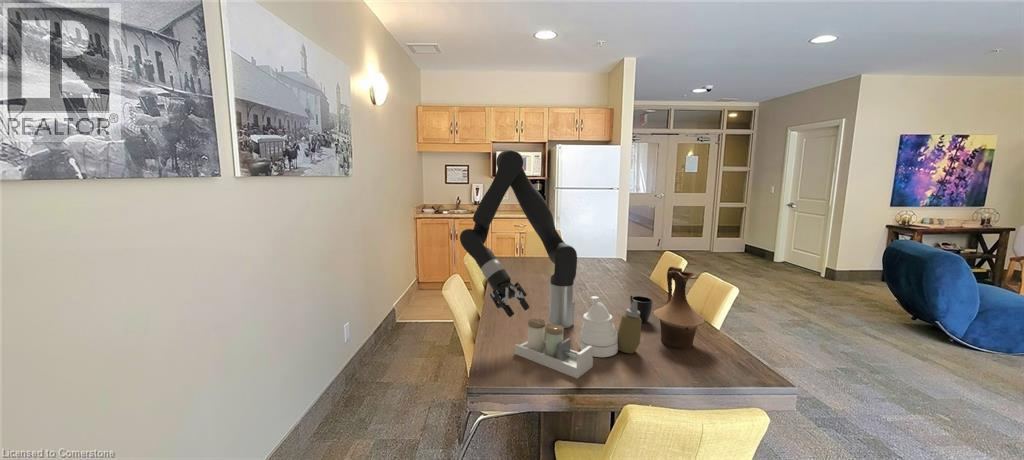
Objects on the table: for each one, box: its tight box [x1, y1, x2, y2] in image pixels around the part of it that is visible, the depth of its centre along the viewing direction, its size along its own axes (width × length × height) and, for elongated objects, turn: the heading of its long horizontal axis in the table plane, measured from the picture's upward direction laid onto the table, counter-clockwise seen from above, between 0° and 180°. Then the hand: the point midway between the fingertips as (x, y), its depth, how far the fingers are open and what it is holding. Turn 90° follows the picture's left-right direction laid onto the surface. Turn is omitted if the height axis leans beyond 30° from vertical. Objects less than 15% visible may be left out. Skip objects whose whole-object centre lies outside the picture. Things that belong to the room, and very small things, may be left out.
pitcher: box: [653, 265, 706, 350], centre depth 138 cm, size 18×17×28 cm
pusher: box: [556, 337, 576, 361], centre depth 120 cm, size 5×7×6 cm
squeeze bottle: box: [616, 300, 643, 354], centre depth 131 cm, size 8×8×18 cm
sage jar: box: [545, 324, 565, 358], centre depth 124 cm, size 6×6×10 cm
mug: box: [629, 294, 653, 324], centre depth 161 cm, size 8×12×10 cm
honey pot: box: [579, 295, 619, 358], centre depth 132 cm, size 13×13×18 cm
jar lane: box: [514, 339, 594, 379], centre depth 124 cm, size 24×10×7 cm, turn 50°
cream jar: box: [527, 318, 546, 353], centre depth 128 cm, size 6×6×10 cm
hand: (520, 312), depth 132 cm, fingers open, 8 cm apart
